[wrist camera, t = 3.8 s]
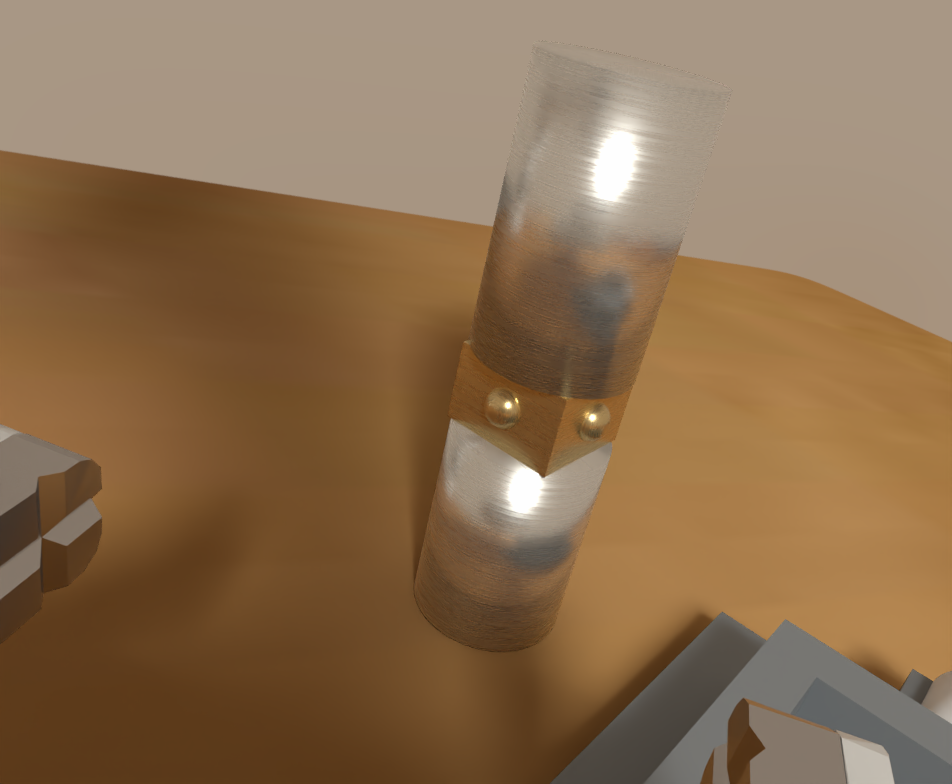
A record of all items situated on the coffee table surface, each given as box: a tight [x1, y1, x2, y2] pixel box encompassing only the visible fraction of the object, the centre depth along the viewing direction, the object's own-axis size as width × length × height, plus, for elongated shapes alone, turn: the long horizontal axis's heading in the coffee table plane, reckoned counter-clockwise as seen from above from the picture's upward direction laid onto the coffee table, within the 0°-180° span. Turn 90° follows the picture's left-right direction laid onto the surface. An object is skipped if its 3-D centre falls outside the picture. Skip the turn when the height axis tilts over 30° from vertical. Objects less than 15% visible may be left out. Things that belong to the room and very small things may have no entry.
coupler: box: [414, 41, 732, 652], centre depth 20 cm, size 4×4×14 cm
